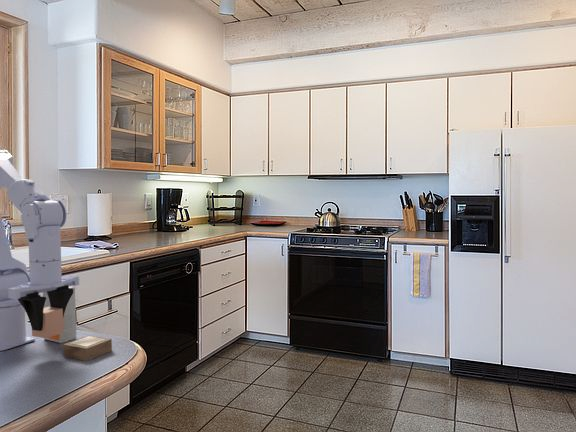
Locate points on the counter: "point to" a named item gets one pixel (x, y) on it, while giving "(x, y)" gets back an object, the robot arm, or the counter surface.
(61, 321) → the terracotta block
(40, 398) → the counter surface
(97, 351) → the walnut foundation
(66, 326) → the skincare box
